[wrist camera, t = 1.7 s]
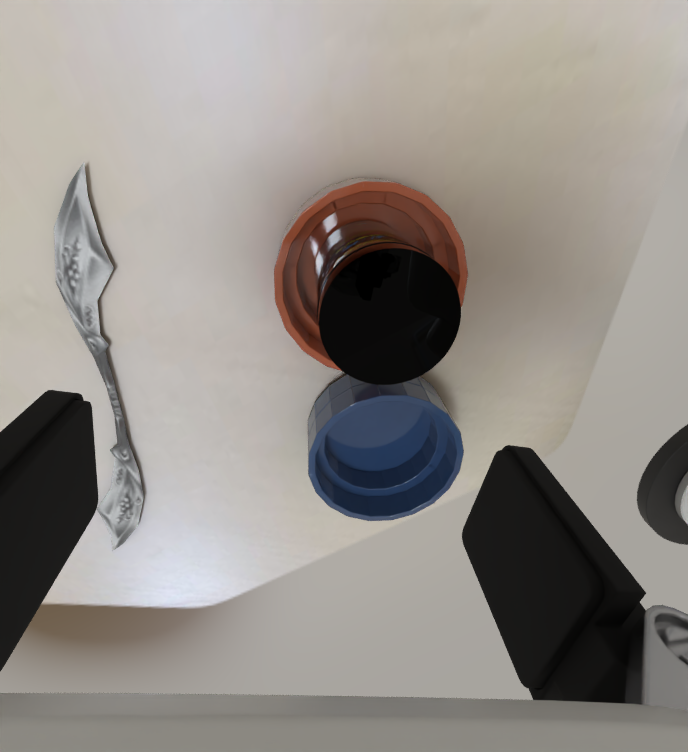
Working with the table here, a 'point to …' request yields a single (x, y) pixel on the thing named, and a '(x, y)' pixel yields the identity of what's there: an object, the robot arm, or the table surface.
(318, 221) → the terracotta bowl
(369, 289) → the supplement container
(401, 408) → the slate-blue bowl
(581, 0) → the table surface
